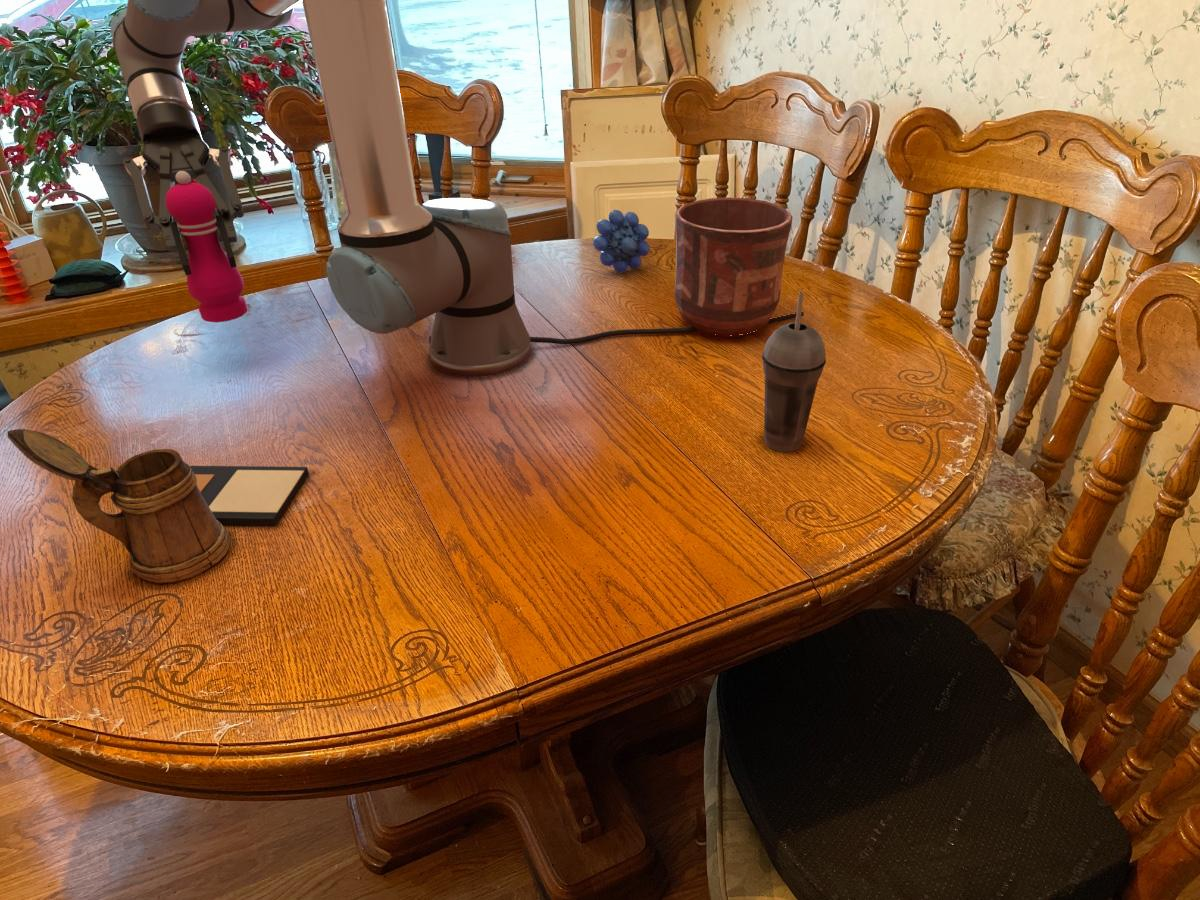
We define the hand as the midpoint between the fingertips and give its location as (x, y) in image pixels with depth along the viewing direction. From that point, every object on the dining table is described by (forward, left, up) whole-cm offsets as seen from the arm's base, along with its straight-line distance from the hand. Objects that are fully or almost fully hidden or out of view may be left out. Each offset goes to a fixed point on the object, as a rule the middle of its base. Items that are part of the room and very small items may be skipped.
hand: (210, 266), depth 105 cm
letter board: (-12, +30, -17) cm, 36 cm away
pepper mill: (+2, -3, -9) cm, 9 cm away
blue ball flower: (-55, -42, -17) cm, 71 cm away
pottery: (-72, -19, -17) cm, 77 cm away
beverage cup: (-76, +17, -17) cm, 80 cm away
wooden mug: (-9, +41, -17) cm, 45 cm away
